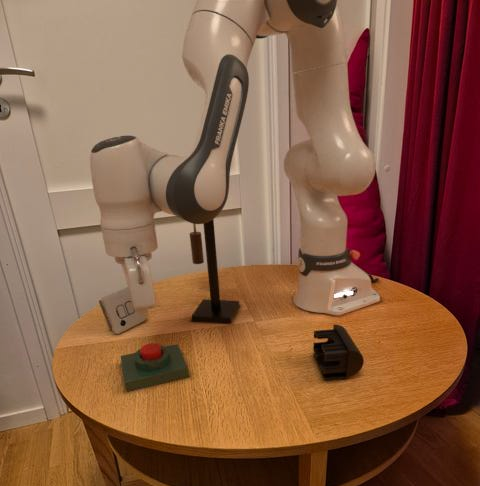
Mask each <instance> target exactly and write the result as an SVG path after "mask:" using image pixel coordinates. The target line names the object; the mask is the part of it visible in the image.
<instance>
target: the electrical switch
mask: <svg viewBox="0 0 480 486" xmlns="http://www.w3.org/2000/svg"><path fill="white" fill-rule="evenodd" d="M98 303H99V306H100V308H101V311H102V313H103V316H104V319H105V321H106V323H107V327H108V329H109V331H112V333H113V334H115V335H120V334H121V333H124V332H126V331H128V330H129V329H131V328H134V327H135V326H137V325H139V324H141V323H143V322H145V321H146V320H147V317H146V316H147V315H144V316H140V315H139V313H138V311H136V310H135V309H134V307H133V304H132V300H131V296H130V292H129V288H128V286H127V287H126V288H123V289H120V290H117V291H115V292H112V293H111V294H108V295H105V296H103V297H101V299H100V300H99V301H98Z"/></svg>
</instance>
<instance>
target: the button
mask: <svg viewBox="0 0 480 486" xmlns="http://www.w3.org/2000/svg"><path fill="white" fill-rule="evenodd" d="M139 349H140V352H141V357H142V359H143V360H155V359H158V358H159V357H161V356H162V351H161V346H160V344H159V343H156V342H149V343H146V344H144V345H142V346H141V347H140V348H139Z"/></svg>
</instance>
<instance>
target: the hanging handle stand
mask: <svg viewBox="0 0 480 486" xmlns="http://www.w3.org/2000/svg"><path fill="white" fill-rule="evenodd" d="M202 225H203V233H204V244H205V245H204V246H205V257H206V267H207V278H208V288H209V297H210V298H209V299H205V298H204V299H202V300H201V302H200V303H199V304H198V306H197V307H196V308H195V310H194V312H193V313H192V315H191V317H190V318H191V322H197V323H213V324H214V323H215V324H216V323H217V324H231V323H232V322H233V320H234V318H235V316H236V314H237V312H238V310H239V308H240V305H241V304H240V303H241V302H240V300H228V299H227V300H225V299H221V295H220V283H219V282H220V281H219V269H218V258H217V257H218V255H217V244H216V235H215V234H216V233H215V220H214V219H213V220H211V221H209V222H207V223H204V224H202Z"/></svg>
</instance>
